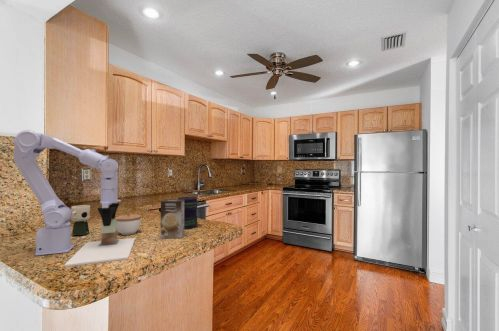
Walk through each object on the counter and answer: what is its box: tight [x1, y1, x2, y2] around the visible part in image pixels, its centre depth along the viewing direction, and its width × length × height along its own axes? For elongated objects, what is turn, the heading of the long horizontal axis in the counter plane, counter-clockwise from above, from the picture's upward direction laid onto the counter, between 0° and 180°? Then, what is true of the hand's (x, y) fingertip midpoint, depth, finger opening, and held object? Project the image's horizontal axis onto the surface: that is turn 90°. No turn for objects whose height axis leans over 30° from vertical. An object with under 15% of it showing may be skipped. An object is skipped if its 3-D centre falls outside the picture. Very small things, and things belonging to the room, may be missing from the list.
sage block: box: [100, 219, 118, 234], centre depth 93 cm, size 4×4×4 cm
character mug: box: [70, 204, 91, 236], centre depth 108 cm, size 11×7×13 cm, turn 179°
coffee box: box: [159, 198, 185, 239], centre depth 105 cm, size 9×6×16 cm
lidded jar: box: [115, 212, 142, 236], centre depth 110 cm, size 11×11×9 cm
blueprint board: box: [63, 237, 136, 268], centre depth 86 cm, size 18×24×1 cm
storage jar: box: [177, 196, 198, 230], centre depth 121 cm, size 10×10×15 cm
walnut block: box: [100, 230, 118, 245], centre depth 93 cm, size 4×4×4 cm
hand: (108, 223), depth 93 cm, fingers open, 7 cm apart
